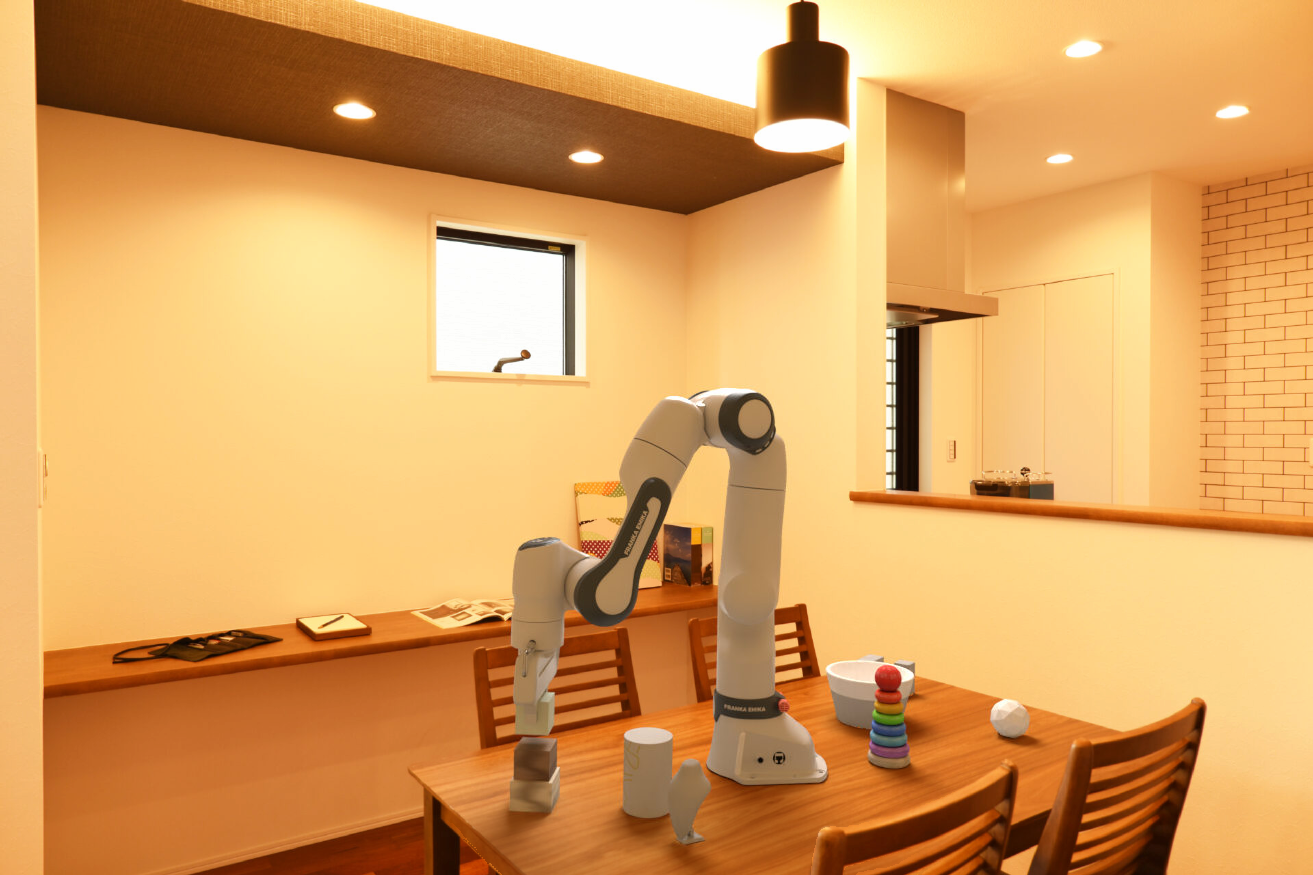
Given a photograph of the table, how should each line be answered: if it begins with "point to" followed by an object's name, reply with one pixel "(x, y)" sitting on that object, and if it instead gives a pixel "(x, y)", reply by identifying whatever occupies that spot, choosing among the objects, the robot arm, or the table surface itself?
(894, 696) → the stacking toy
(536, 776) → the walnut mid
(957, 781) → the table surface
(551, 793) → the maple base
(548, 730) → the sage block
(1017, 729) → the geometric ball
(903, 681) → the bowl
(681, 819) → the figurine
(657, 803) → the white cylinder
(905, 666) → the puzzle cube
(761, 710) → the robot arm
